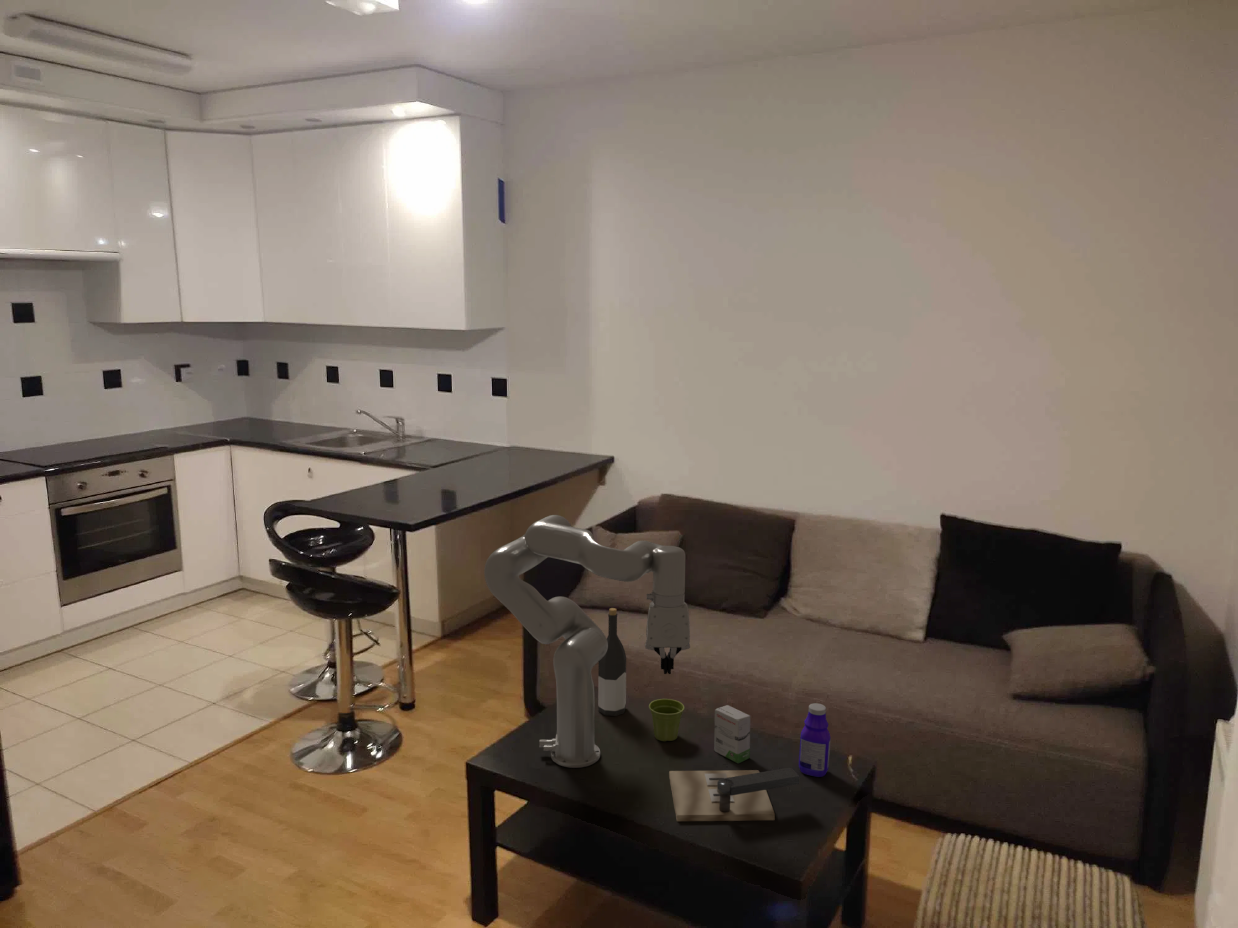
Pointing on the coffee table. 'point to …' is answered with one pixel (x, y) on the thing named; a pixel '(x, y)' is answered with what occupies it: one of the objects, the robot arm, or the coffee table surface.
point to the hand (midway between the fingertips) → (667, 671)
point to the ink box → (732, 733)
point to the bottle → (815, 742)
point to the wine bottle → (612, 673)
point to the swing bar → (757, 782)
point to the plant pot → (666, 718)
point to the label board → (716, 798)
